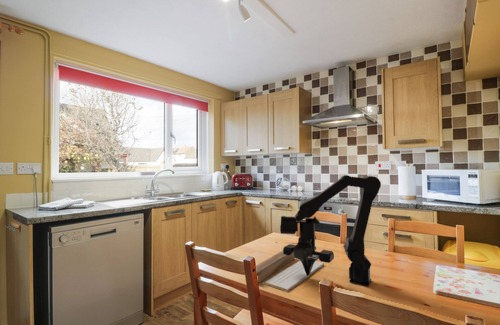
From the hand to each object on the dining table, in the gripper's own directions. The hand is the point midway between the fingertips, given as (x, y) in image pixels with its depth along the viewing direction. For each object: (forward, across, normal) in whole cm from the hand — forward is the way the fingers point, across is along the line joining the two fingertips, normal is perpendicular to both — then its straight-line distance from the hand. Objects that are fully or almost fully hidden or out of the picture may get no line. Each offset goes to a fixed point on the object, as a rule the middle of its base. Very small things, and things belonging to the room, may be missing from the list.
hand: (308, 275), depth 99 cm
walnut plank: (+1, -16, +2) cm, 16 cm away
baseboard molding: (+2, -6, +2) cm, 7 cm away
